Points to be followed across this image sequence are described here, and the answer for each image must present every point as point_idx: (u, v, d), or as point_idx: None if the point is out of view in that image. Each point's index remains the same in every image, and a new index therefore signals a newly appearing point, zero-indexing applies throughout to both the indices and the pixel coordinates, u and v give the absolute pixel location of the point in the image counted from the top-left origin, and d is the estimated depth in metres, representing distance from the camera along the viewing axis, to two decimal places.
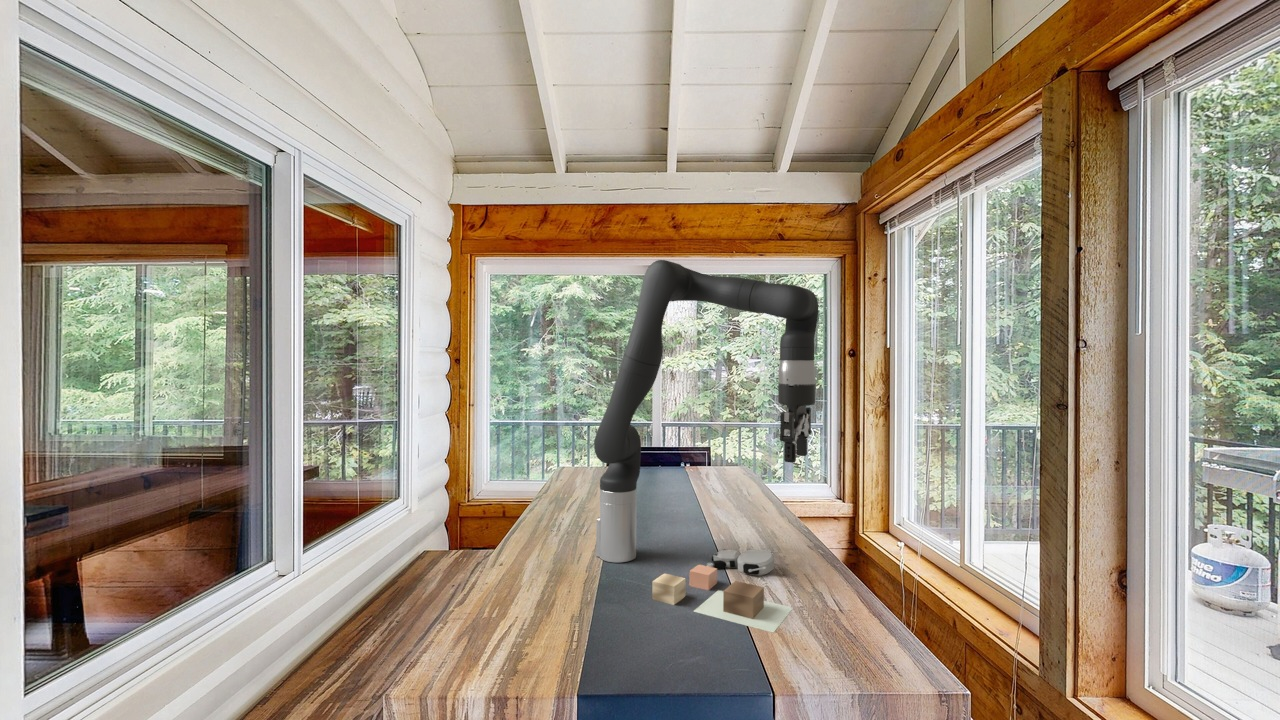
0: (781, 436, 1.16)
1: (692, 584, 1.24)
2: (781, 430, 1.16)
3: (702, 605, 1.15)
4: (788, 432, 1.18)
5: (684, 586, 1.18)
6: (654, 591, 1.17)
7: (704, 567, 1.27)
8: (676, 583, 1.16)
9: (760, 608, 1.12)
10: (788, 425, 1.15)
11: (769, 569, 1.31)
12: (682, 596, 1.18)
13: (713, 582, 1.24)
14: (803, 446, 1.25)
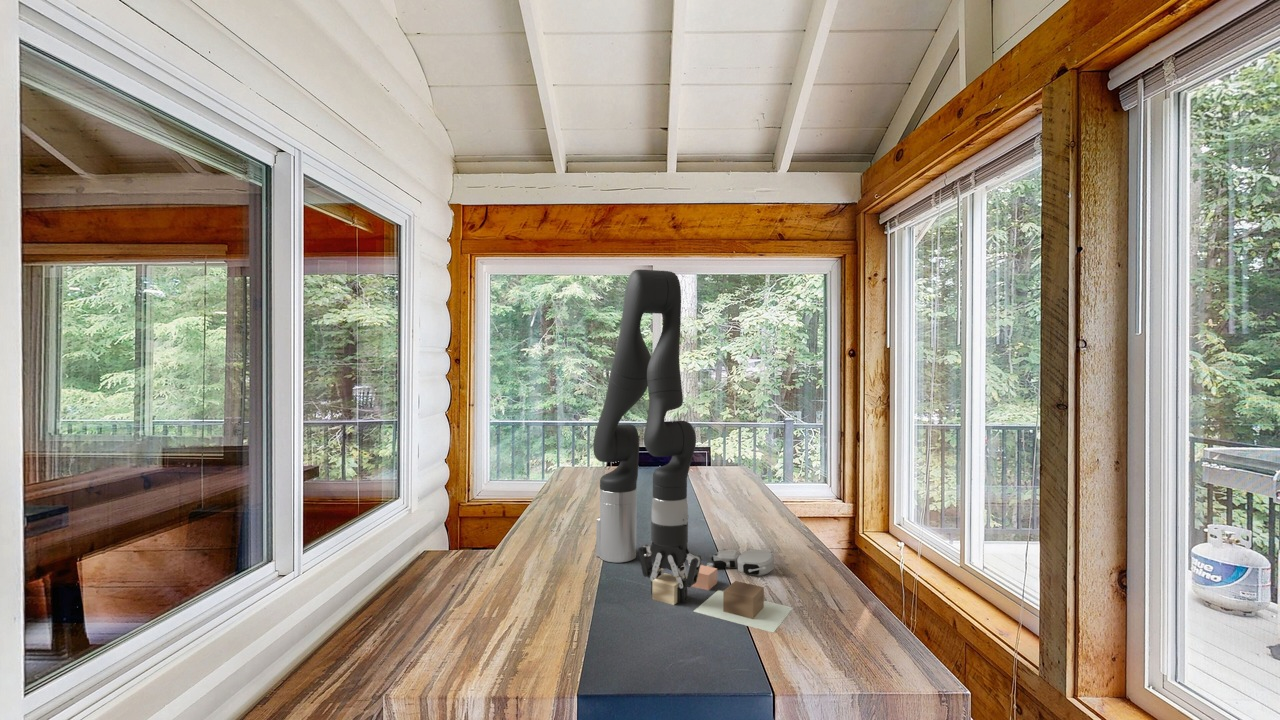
0: None
1: None
2: (693, 577, 1.14)
3: (702, 605, 1.15)
4: None
5: None
6: (654, 591, 1.17)
7: (704, 567, 1.27)
8: (676, 583, 1.16)
9: (760, 608, 1.12)
10: (697, 570, 1.15)
11: (769, 569, 1.31)
12: None
13: (713, 582, 1.24)
14: None
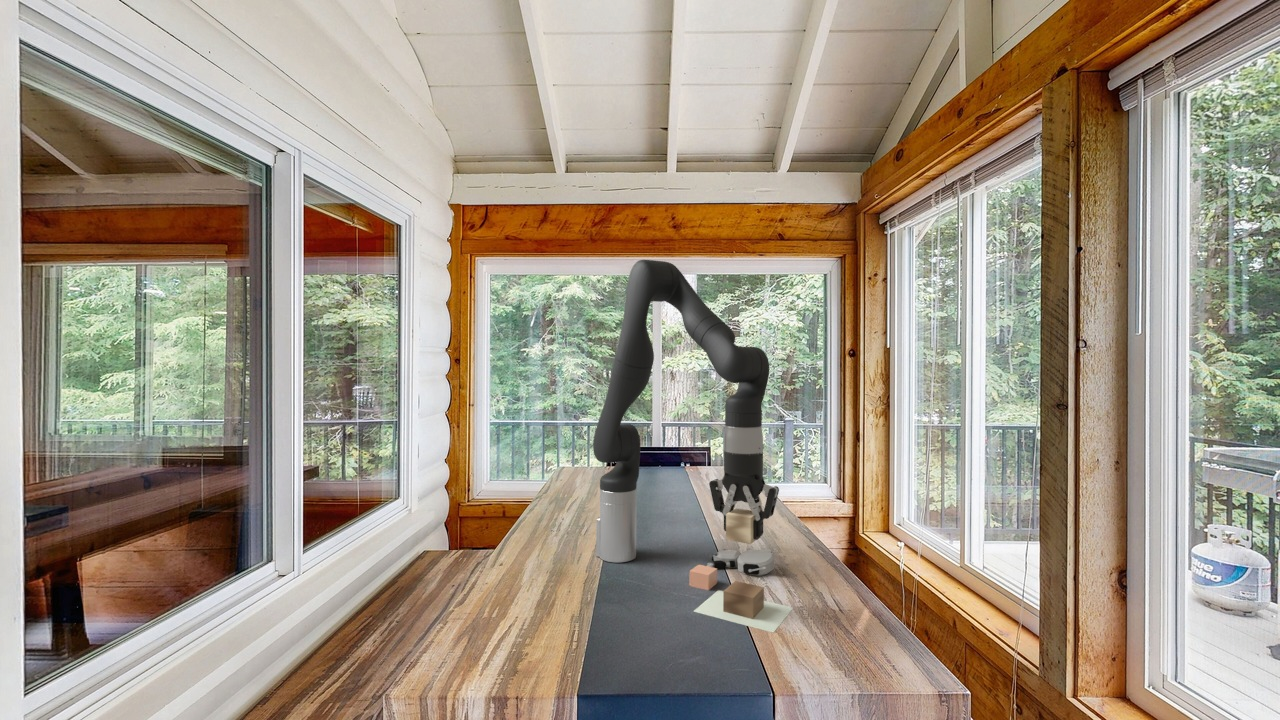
0: None
1: (692, 584, 1.24)
2: (771, 508, 1.08)
3: (702, 605, 1.15)
4: None
5: None
6: (728, 524, 1.11)
7: (704, 567, 1.27)
8: (752, 515, 1.11)
9: (760, 608, 1.12)
10: (775, 501, 1.10)
11: (769, 569, 1.31)
12: None
13: (713, 582, 1.24)
14: None
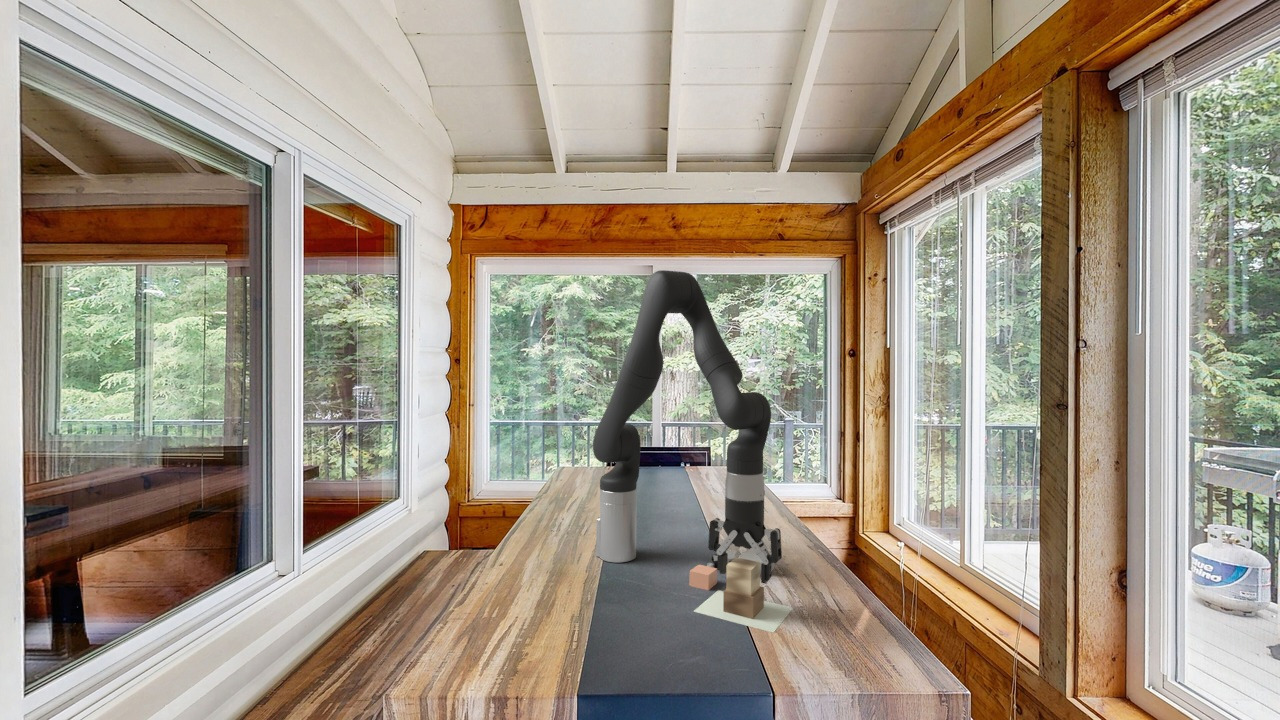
0: (777, 557, 1.08)
1: (692, 584, 1.24)
2: (777, 551, 1.08)
3: (702, 605, 1.15)
4: None
5: (758, 570, 1.13)
6: (729, 575, 1.12)
7: (704, 567, 1.27)
8: (752, 567, 1.11)
9: (760, 608, 1.12)
10: (779, 543, 1.09)
11: None
12: (757, 581, 1.13)
13: (713, 582, 1.24)
14: (726, 562, 1.15)
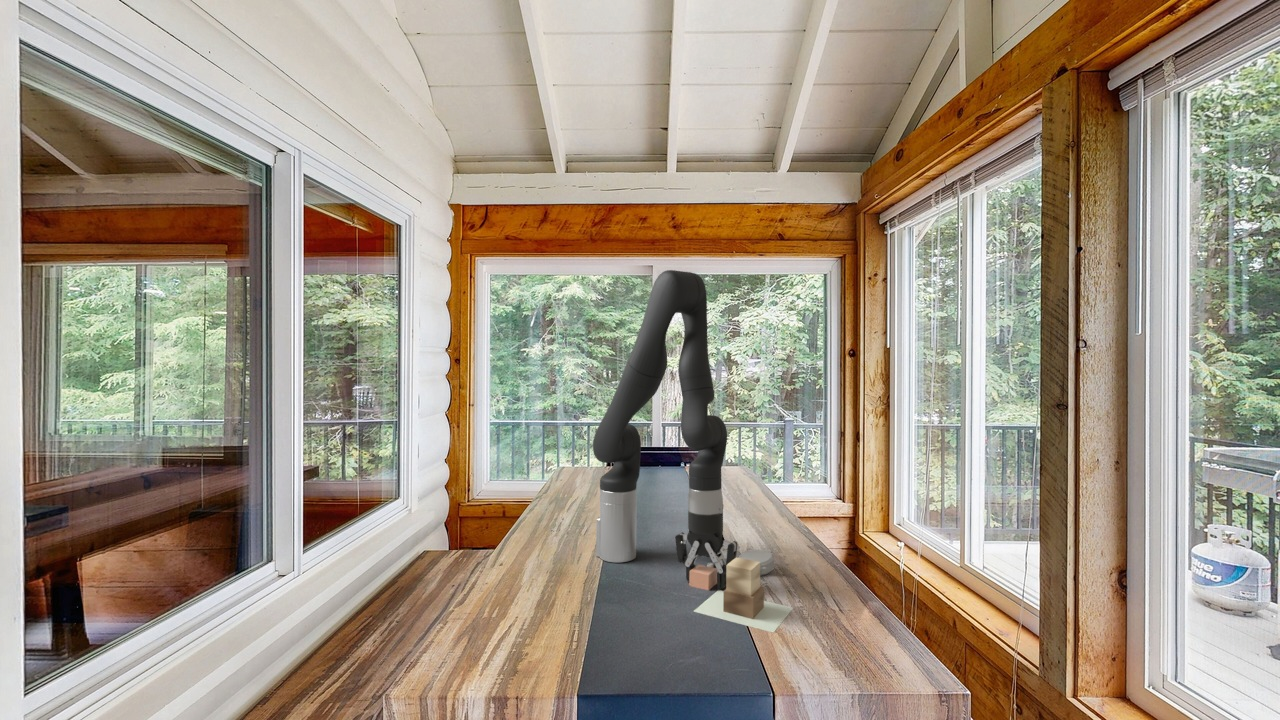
0: None
1: (692, 584, 1.24)
2: None
3: (702, 605, 1.15)
4: None
5: (758, 570, 1.13)
6: (729, 575, 1.12)
7: (704, 567, 1.27)
8: (752, 567, 1.11)
9: (760, 608, 1.12)
10: (735, 555, 1.22)
11: (769, 569, 1.31)
12: (757, 581, 1.13)
13: (713, 582, 1.24)
14: None
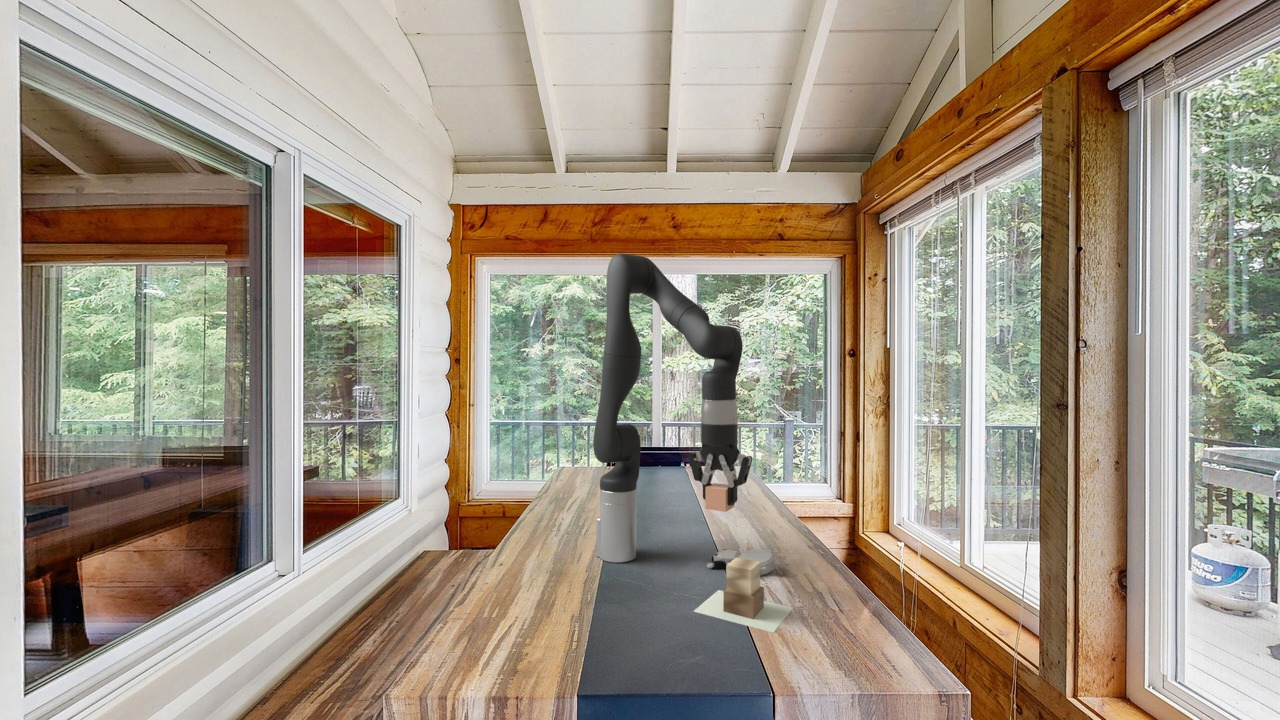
0: None
1: (708, 500, 1.19)
2: (744, 475, 1.16)
3: (702, 605, 1.15)
4: None
5: (758, 570, 1.13)
6: (729, 575, 1.12)
7: (720, 484, 1.22)
8: (752, 567, 1.11)
9: (760, 608, 1.12)
10: (748, 469, 1.17)
11: (769, 569, 1.31)
12: (757, 581, 1.13)
13: None
14: None
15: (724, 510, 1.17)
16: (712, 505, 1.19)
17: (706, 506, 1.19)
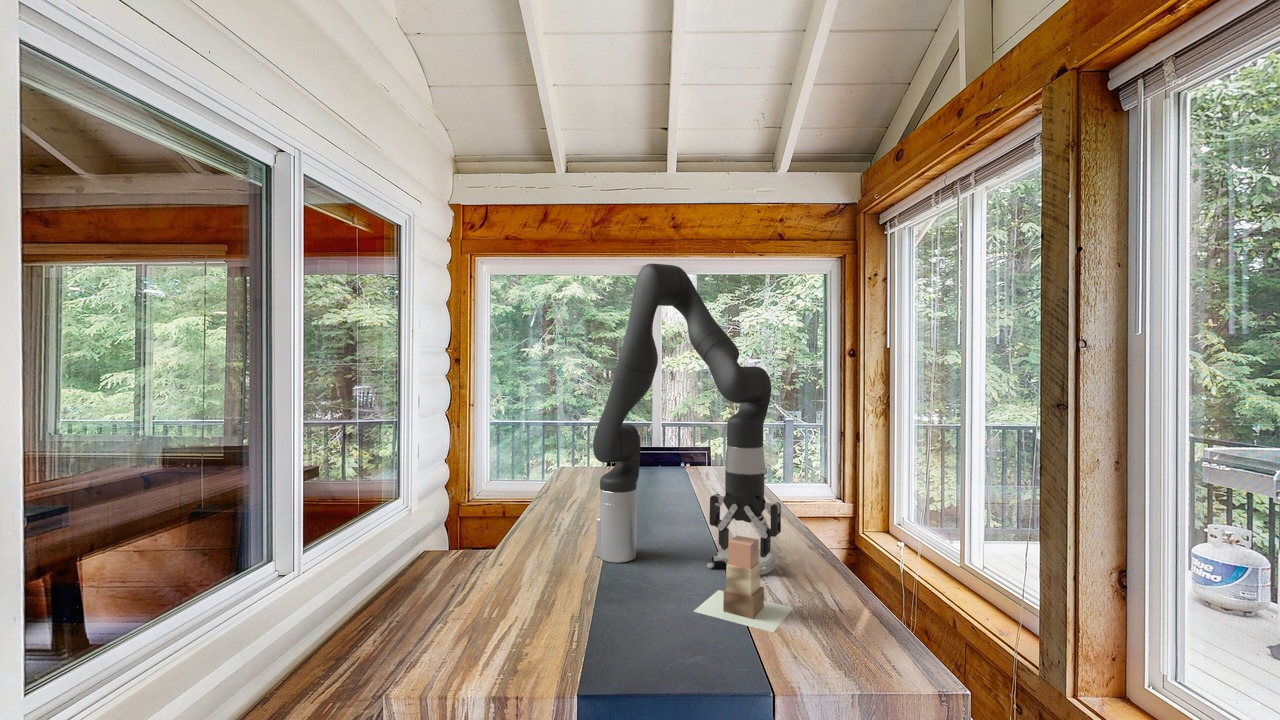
0: (776, 531, 1.08)
1: (731, 556, 1.12)
2: (777, 525, 1.08)
3: (702, 605, 1.15)
4: None
5: (758, 570, 1.13)
6: (729, 575, 1.12)
7: (744, 538, 1.14)
8: (752, 567, 1.11)
9: (760, 608, 1.12)
10: (779, 517, 1.09)
11: (769, 569, 1.31)
12: (757, 581, 1.13)
13: (755, 554, 1.12)
14: (727, 537, 1.15)
15: (749, 567, 1.10)
16: (736, 561, 1.11)
17: (729, 562, 1.12)
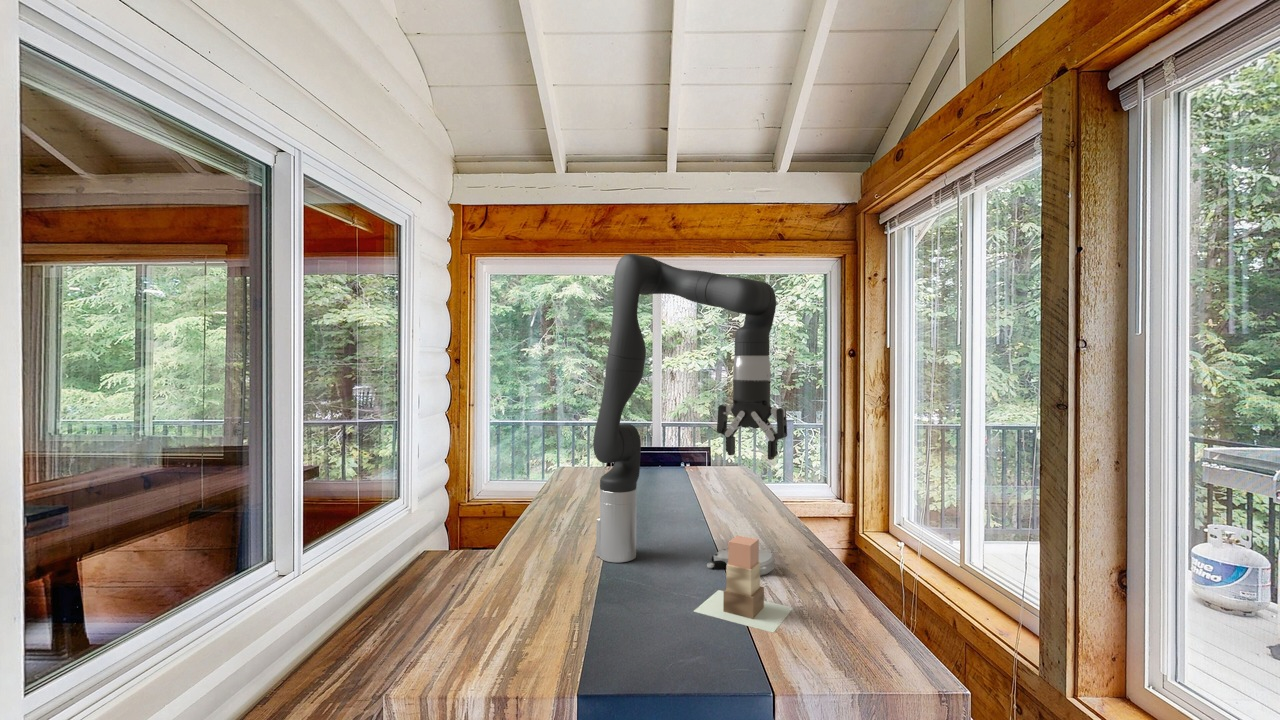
0: (783, 433, 1.14)
1: (731, 556, 1.12)
2: (783, 427, 1.14)
3: (702, 605, 1.15)
4: None
5: (758, 570, 1.13)
6: (729, 575, 1.12)
7: (744, 538, 1.14)
8: (752, 567, 1.11)
9: (760, 608, 1.12)
10: (785, 421, 1.15)
11: (769, 569, 1.31)
12: (757, 581, 1.13)
13: (755, 554, 1.12)
14: (733, 444, 1.21)
15: (749, 567, 1.10)
16: (736, 561, 1.11)
17: (729, 562, 1.12)
